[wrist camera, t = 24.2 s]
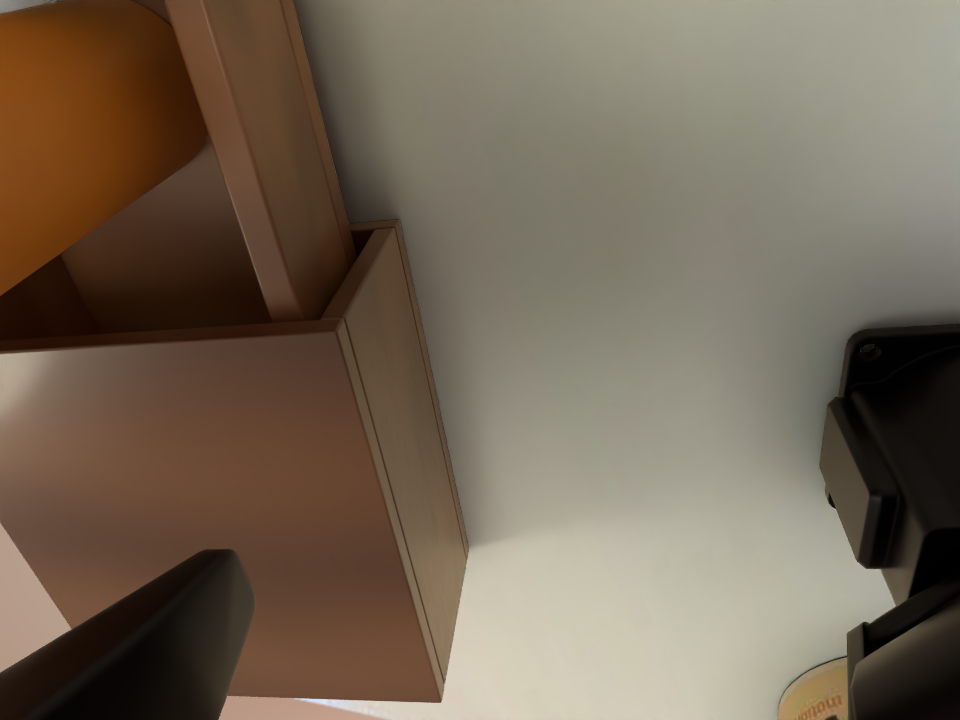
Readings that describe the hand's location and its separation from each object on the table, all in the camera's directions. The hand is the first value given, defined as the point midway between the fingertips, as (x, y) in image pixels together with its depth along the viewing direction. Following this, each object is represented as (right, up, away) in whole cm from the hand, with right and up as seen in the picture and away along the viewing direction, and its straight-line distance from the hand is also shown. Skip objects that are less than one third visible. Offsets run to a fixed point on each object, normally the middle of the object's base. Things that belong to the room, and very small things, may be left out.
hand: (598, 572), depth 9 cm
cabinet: (-8, +1, +16) cm, 18 cm away
